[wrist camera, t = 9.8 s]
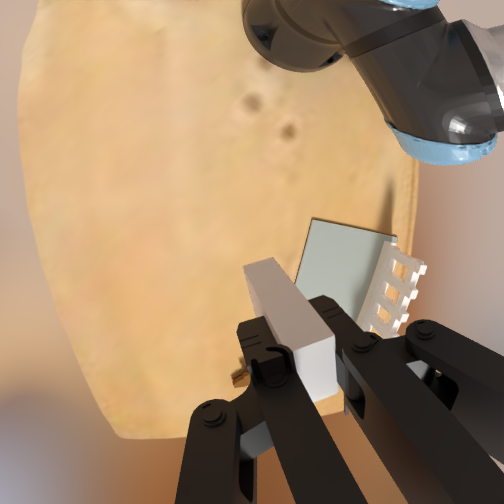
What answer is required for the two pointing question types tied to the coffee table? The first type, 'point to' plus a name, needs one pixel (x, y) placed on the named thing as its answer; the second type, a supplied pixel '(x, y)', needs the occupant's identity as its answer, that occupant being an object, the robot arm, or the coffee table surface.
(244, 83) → the coffee table surface
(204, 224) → the coffee table surface
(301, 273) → the board
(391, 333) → the fence panel
